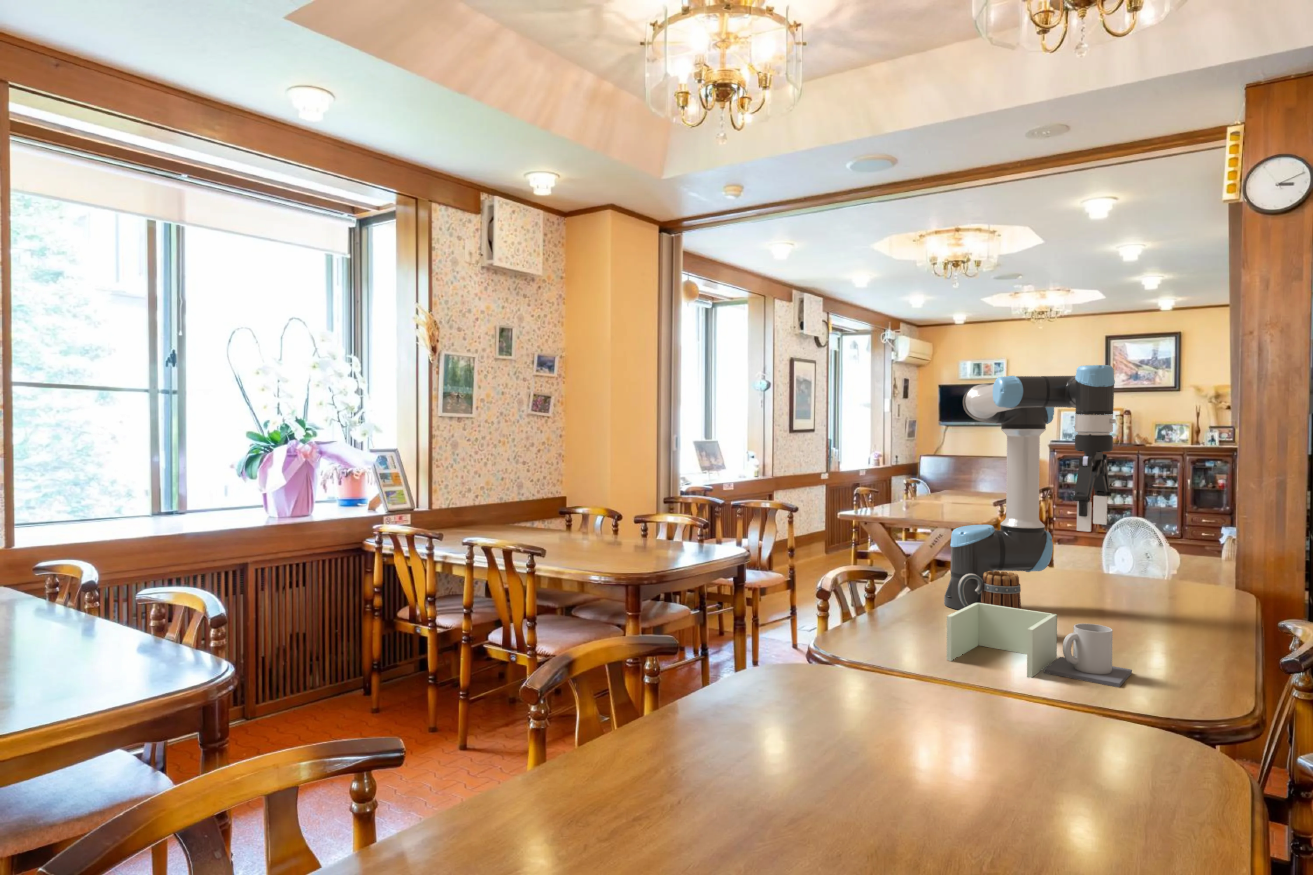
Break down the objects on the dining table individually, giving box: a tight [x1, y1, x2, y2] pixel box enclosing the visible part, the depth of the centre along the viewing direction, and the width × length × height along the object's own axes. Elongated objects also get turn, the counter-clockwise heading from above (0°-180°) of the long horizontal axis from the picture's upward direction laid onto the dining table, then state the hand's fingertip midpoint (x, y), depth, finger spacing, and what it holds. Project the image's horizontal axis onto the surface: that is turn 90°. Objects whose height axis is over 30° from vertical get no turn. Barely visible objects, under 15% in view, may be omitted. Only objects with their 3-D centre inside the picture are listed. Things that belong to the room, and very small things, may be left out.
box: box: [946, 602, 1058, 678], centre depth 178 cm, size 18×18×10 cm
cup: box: [1062, 623, 1114, 675], centre depth 168 cm, size 7×10×9 cm
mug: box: [958, 571, 1022, 609], centre depth 201 cm, size 16×11×15 cm
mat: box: [1043, 656, 1133, 688], centre depth 168 cm, size 14×12×1 cm
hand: (1092, 527), depth 179 cm, fingers open, 13 cm apart
